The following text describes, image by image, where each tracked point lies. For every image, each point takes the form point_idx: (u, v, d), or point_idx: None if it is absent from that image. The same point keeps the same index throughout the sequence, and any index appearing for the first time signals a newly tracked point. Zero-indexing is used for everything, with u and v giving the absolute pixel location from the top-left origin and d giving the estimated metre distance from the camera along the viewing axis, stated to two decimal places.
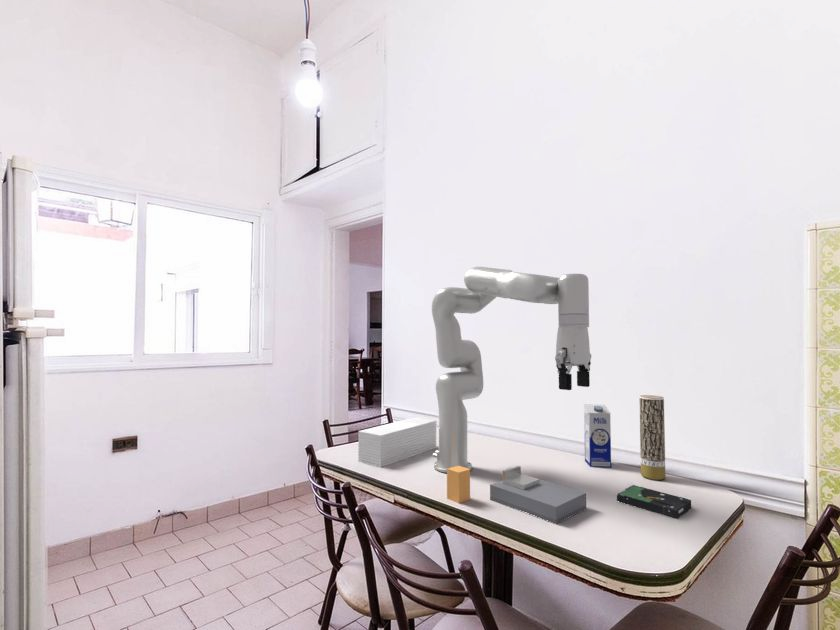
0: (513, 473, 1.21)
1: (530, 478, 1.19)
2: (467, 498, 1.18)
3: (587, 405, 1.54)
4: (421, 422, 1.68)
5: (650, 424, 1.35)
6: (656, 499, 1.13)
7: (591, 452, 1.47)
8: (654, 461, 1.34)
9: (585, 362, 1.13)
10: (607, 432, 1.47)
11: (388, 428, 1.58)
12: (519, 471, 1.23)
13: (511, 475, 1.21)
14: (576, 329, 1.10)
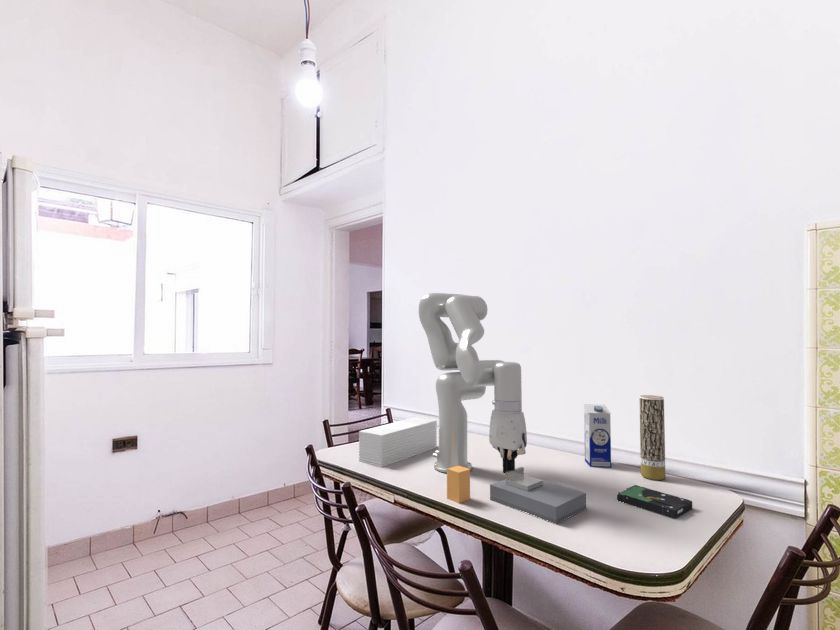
0: (516, 474, 1.20)
1: (533, 479, 1.18)
2: (467, 498, 1.18)
3: (587, 405, 1.54)
4: (421, 422, 1.68)
5: (650, 424, 1.35)
6: (656, 499, 1.13)
7: (591, 452, 1.47)
8: (654, 461, 1.34)
9: None
10: (608, 432, 1.47)
11: (389, 428, 1.58)
12: (522, 472, 1.22)
13: (514, 476, 1.20)
14: None
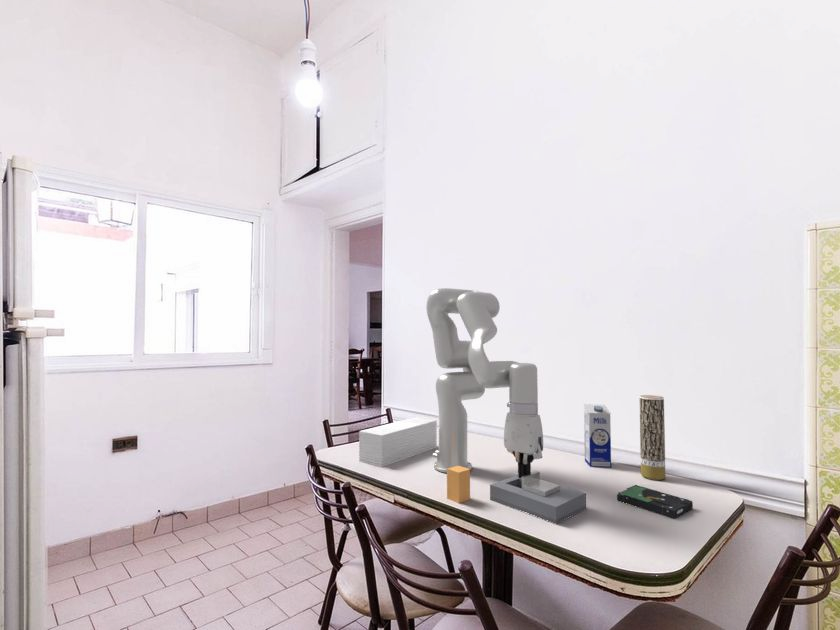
0: (532, 479, 1.16)
1: (550, 484, 1.14)
2: (467, 498, 1.18)
3: (587, 405, 1.54)
4: (421, 422, 1.68)
5: (650, 424, 1.35)
6: (656, 499, 1.13)
7: (591, 452, 1.47)
8: (654, 461, 1.34)
9: None
10: (607, 432, 1.47)
11: (389, 428, 1.58)
12: (538, 477, 1.18)
13: (530, 481, 1.16)
14: None
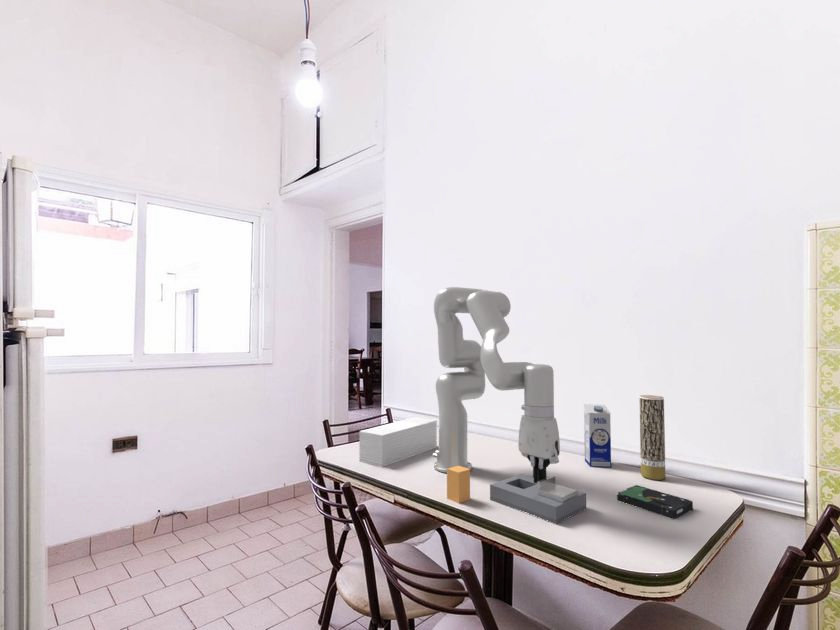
0: (548, 483, 1.13)
1: (567, 489, 1.11)
2: (467, 498, 1.18)
3: (587, 405, 1.54)
4: (422, 422, 1.68)
5: (650, 424, 1.35)
6: (656, 499, 1.13)
7: (591, 452, 1.47)
8: (654, 461, 1.34)
9: None
10: (607, 432, 1.47)
11: (389, 428, 1.58)
12: (554, 481, 1.15)
13: (546, 486, 1.12)
14: None
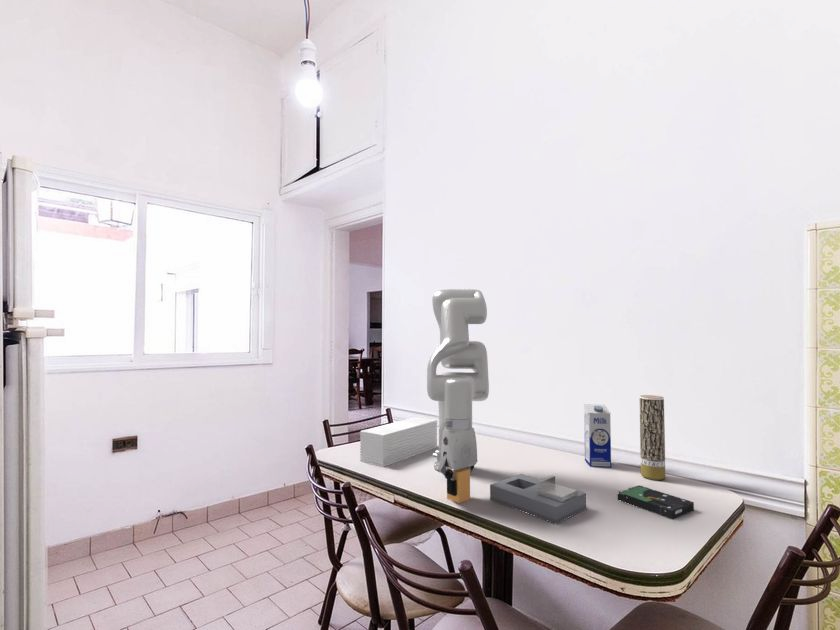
0: (548, 483, 1.13)
1: (567, 489, 1.11)
2: (467, 498, 1.18)
3: (587, 405, 1.54)
4: (422, 422, 1.69)
5: (650, 424, 1.35)
6: (656, 499, 1.13)
7: (591, 452, 1.47)
8: (654, 461, 1.34)
9: None
10: (608, 432, 1.47)
11: (390, 428, 1.58)
12: (554, 481, 1.15)
13: (546, 486, 1.12)
14: None
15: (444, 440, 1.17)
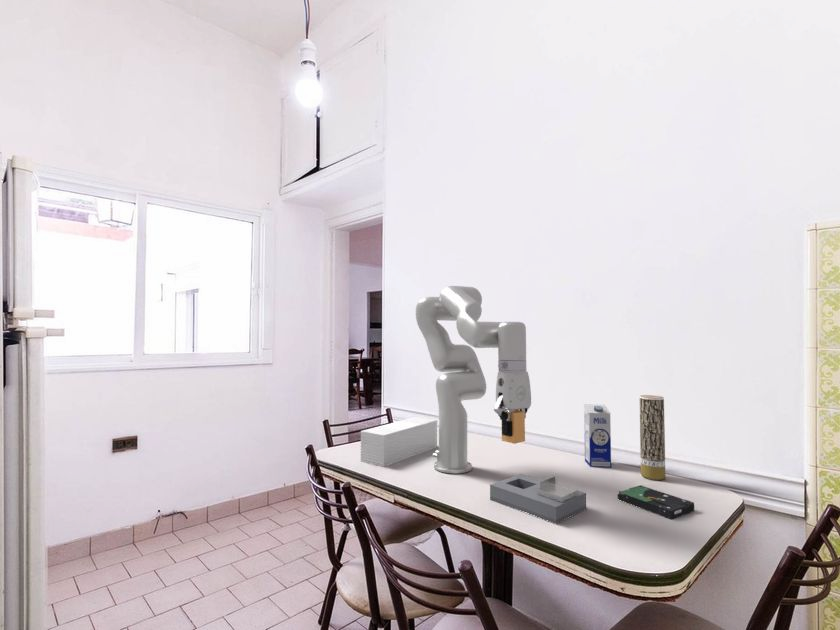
0: (548, 483, 1.13)
1: (567, 489, 1.11)
2: (522, 440, 1.18)
3: (587, 405, 1.54)
4: (422, 422, 1.69)
5: (650, 424, 1.35)
6: (656, 499, 1.13)
7: (591, 452, 1.47)
8: (654, 461, 1.34)
9: None
10: (607, 432, 1.47)
11: (390, 428, 1.58)
12: (554, 481, 1.15)
13: (546, 486, 1.12)
14: None
15: (499, 382, 1.18)
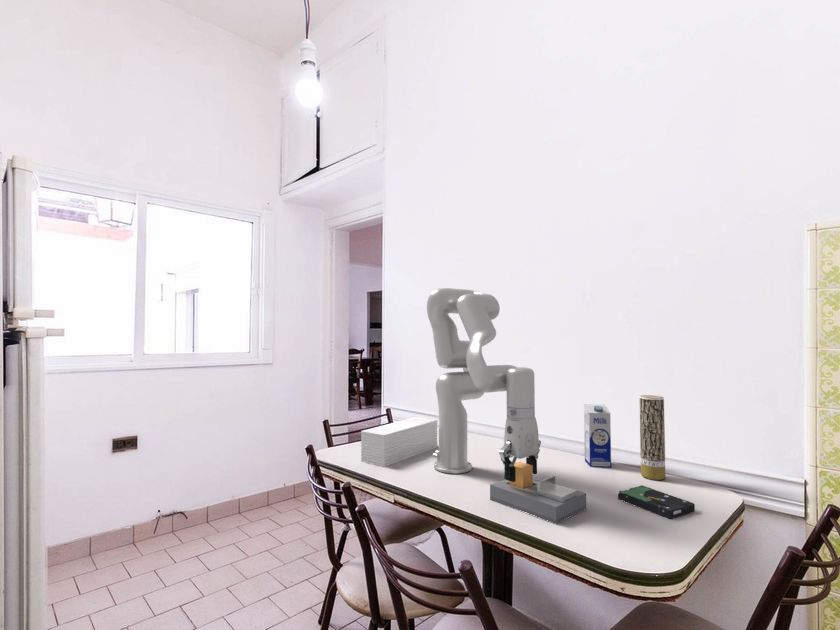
0: (548, 483, 1.13)
1: (567, 489, 1.11)
2: None
3: (587, 405, 1.54)
4: (422, 422, 1.69)
5: (650, 424, 1.35)
6: (656, 499, 1.13)
7: (591, 452, 1.47)
8: (654, 461, 1.34)
9: None
10: (608, 432, 1.47)
11: (390, 428, 1.58)
12: (554, 481, 1.15)
13: (546, 486, 1.12)
14: None
15: (507, 429, 1.18)
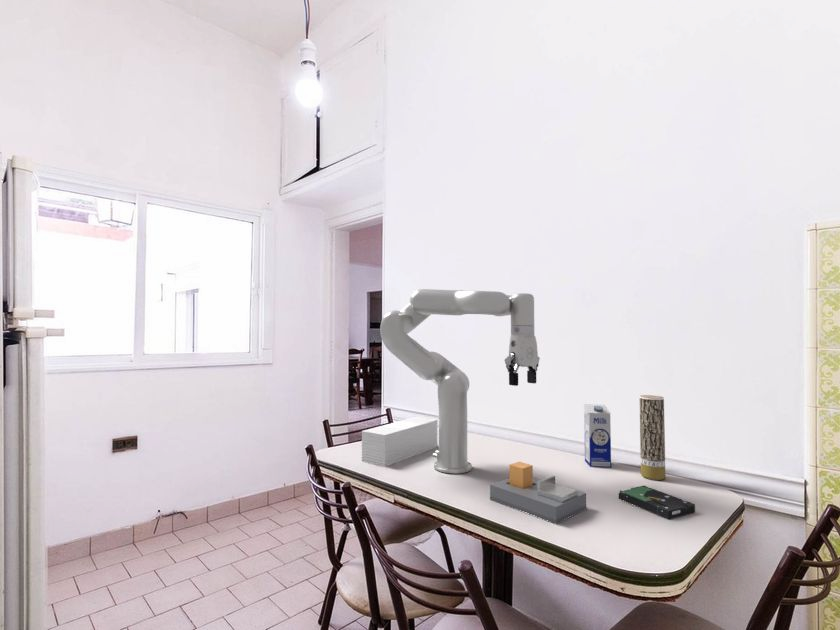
0: (548, 483, 1.13)
1: (567, 489, 1.11)
2: None
3: (587, 405, 1.54)
4: (423, 421, 1.69)
5: (650, 424, 1.35)
6: (656, 499, 1.13)
7: (591, 452, 1.47)
8: (654, 461, 1.34)
9: None
10: (607, 432, 1.47)
11: (391, 428, 1.58)
12: (554, 481, 1.15)
13: (546, 486, 1.12)
14: None
15: (511, 343, 1.41)
